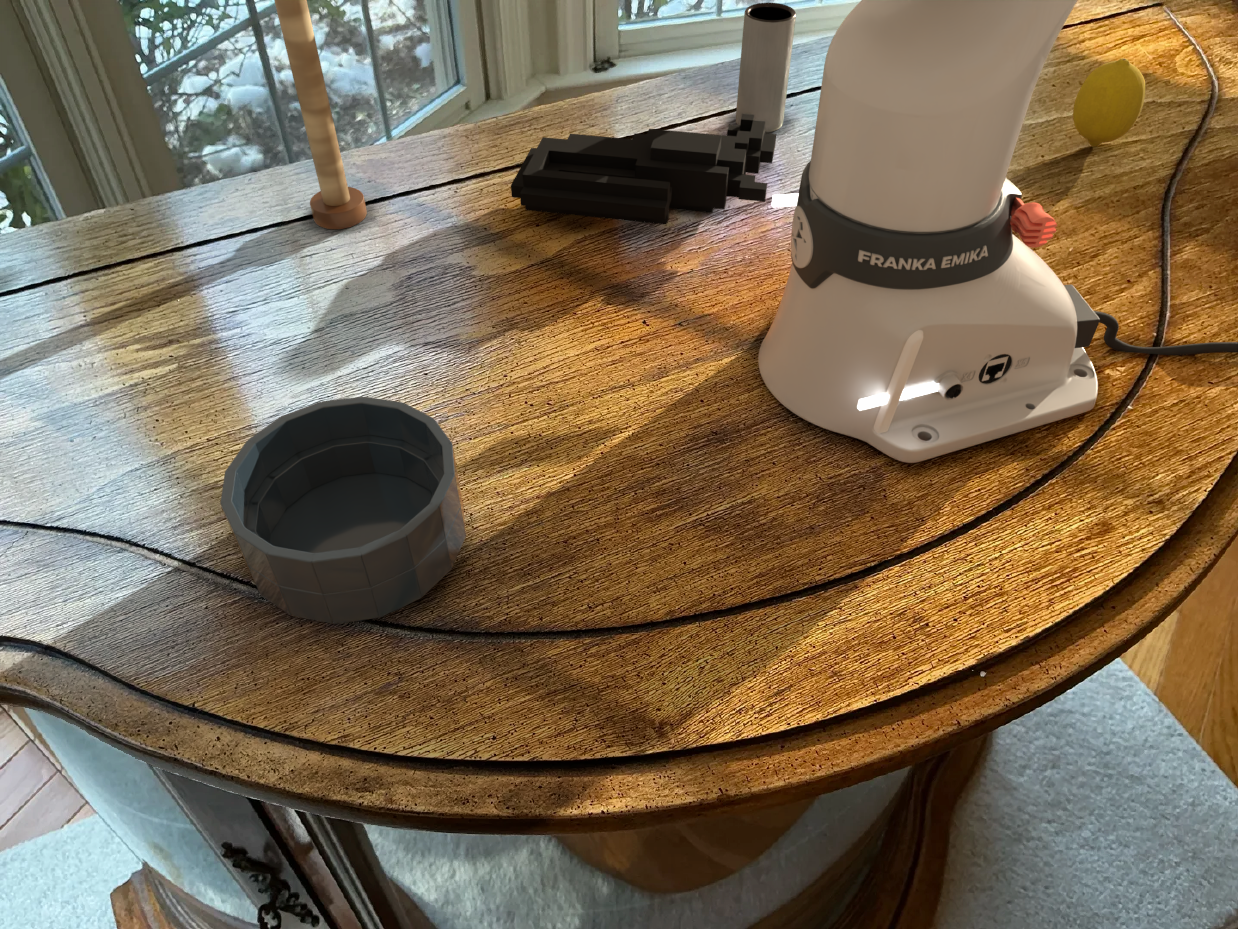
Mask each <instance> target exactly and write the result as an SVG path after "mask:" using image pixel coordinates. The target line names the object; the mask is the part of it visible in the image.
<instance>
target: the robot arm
mask: <svg viewBox="0 0 1238 929" xmlns="http://www.w3.org/2000/svg"><path fill="white" fill-rule="evenodd" d="M1078 1H1079V0H860V1H859V2H858V3H857V4H856V5H855V6H854V7H853V9H852V10H850V12H849V13H848V14H847V15H846V17H844V20H842V22H841V24H840V25H839V26H838V28H837V29H836V31H835V33H834V35H833V37H832V38H831V41H830V44H829V46H828V49H827V53H826V56H825V58H824V59H825V60H824V65H823V72H822V79H821V85H820V86H821V87H820V94H819V101H818V108H817V114H816V120H815V122H816V123H815V129H814V135H813V141H812V142H813V143H812V150H811V156H810V160H809V161H808V162H807V163H806V165H805V167H804V168H803V170H802V173H801V178H800V183H799V190H798V193H785V194H782V193H781V194H772V199H771V207H772V208H784V207H794V211H793V216H792V225H791V234H790V258H791V259H790V260H791V265H790V270H789V274H788V276H787V281H786V284H785V287H784V289H783V290H784V291H783V294H782V297H781V299H780V302H779V306H778V308H777V310H776V314H775V316H774V318H773V321H772V323H771V324H770V327H769V329H768V331H767V333H766V334H765V337H764V339H763V340H762V342H761V344H760V347H759V351H758V356H757V357H758V358H757V361H758V371H759V373H760V376H761V378H762V381H763V383H764V385H765V387H766V388H767V390H769V392H770V393H771V395H772V396H773V397H774V398H775V399H776V400H777V401H778V402H779V403H780V404H782V406H784V407H785V408H786V409H787V410H789V411H790V412H792V414H795V416H798V417H799V418H801V419H803V420H805V421H806V422H809V423H810V424H812V425H815V426H817V427H819V428H822V429H825V430H827V431H830V432H834V433H837V434H841V435H844V436H848V437H850V438H854V439H856V440H857V439H858V440H860V441H862V442H865V443H867V444H869V445H870V446H872V447H873V448H875V449H876V450H878V451H880V452H881V453H883V454H884V455H886V456H888V457H890V458H892V459H893V460H896V461H898V462H901V463H907V464H916V463H919V462H924V461H927V460H930V459H934V458H937V457H940V456H944V455H946V454H947V455H948V454H950V453H954V452H957V451H960V450H964V449H967V448H970V447H974V446H977V445H980V444H984V443H987V442H990V441H995V440H997V439H1001V438H1004V437H1007V436H1011V435H1014V434H1017V433H1021V432H1024V431H1027V430H1030V429H1034V428H1038V427H1041V426H1043V425H1044V426H1045V425H1047V424H1050V423H1054V422H1058V421H1061V420H1064V419H1067V418H1071V417H1075V416H1077V415H1080V414H1083V413H1084V414H1085V413H1086V412H1089V411H1092V410H1093V409H1094V407H1095V404H1096V402H1097V397H1098V394H1099V393H1098V392H1099V382H1098V381H1099V380H1098V375H1097V373H1096V370H1095V367H1094V364H1093V361H1092V360H1091V358H1090V357H1089V355H1088V352H1086V350H1085V348H1089V347H1090V345H1091V344H1092V341H1093V338H1094V336H1095V334H1096V331H1097V329H1098V327H1099V324H1102V325H1104V326H1105V327H1106V329H1105V331H1104V335H1103V341H1104V343H1105V345H1106V346H1107V347H1108V348H1110V349H1112V350H1114V351H1115V352H1119V353H1126V354H1128V353H1129V354H1133V353H1134V354H1149V355H1162V356H1182V357H1183V356H1192V355H1202V354H1203V355H1204V354H1219V353H1221V354H1222V353H1223V354H1224V353H1227V354H1228V353H1229V354H1230V353H1237V354H1238V341H1215V342H1201V343H1189V344H1181V345H1170V346H1169V345H1167V346H1153V347H1151V346H1138V345H1133V344H1129V343H1127V342H1124V341H1122V340H1120V339H1119V338H1118V337H1117V334H1118V332H1119V329H1120V325H1119V324H1120V323H1119V322H1118V320H1117V319H1116V318H1115V316H1113V315H1111V314H1110V313H1106V312H1103V311H1099V310H1093V308H1092V307H1091V306H1090V305H1089V303H1088V302H1087V301H1086V300H1085V299H1084V297H1083V296H1082V295H1081V294H1080V292H1079V291H1078V289H1077V288H1076V287H1075V286H1074V285H1073V284H1064V283H1063V282H1062V280H1061V279H1060V278H1059V276H1058V275H1057V274H1056V273H1055V272H1054V270H1053V269H1052V268H1051V267H1050V266H1049V265H1048V263H1047V262H1046V261H1045V260H1044V259H1042V258H1041V257H1040V256H1039V255H1038V254H1037V253H1036V252H1035V251H1034V250H1033V249H1034V248H1039V247H1042V246H1044V245H1046V244H1047V243H1048V240H1052V239H1053V238H1054V234H1055V233H1056V232H1057V227H1058V224H1057V222H1056V220H1055V219H1054V217H1052V216H1051V215H1050V214H1049V213H1047V212H1045V209H1044V207H1043V205H1042V204H1040V203H1039V202H1027V203H1024V201H1023V200H1022V197H1023V193H1022V192H1021V190H1020V189H1019V188H1018V187H1017V186H1016V185H1015V184H1014V183H1013V182H1012V181H1011V180H1010V179H1009V178H1007V175H1008V172H1009V169H1010V165H1011V162H1012V160H1013V156H1014V152H1015V149H1016V146H1017V143H1018V139H1019V137H1020V134H1021V131H1022V128H1023V125H1024V122H1025V119H1026V115H1027V112H1028V109H1029V107H1030V103H1031V100H1032V97H1033V94H1034V91H1035V89H1036V85H1037V84H1038V81H1039V78H1040V76H1041V73H1042V71H1043V68H1044V66H1045V64H1046V62H1047V59H1048V57H1049V55H1050V53H1051V51H1052V49H1053V47H1054V44H1055V42H1056V41H1057V38H1058V37H1059V35H1060V33H1061V31H1062V29H1063V28H1064V26H1065V24H1066V22H1067V20H1068V18H1069V16H1070V15H1071V13H1072V11H1073V9H1074V8H1075V6H1076V4H1077V3H1078ZM1013 232H1015V233H1017V234H1018V236H1019V238H1020V239H1019V238H1018V237H1017V236H1016V235H1014V234H1013ZM1031 248H1033V249H1031Z"/></svg>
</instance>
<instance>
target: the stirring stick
mask: <svg viewBox="0 0 1238 929" xmlns="http://www.w3.org/2000/svg"><path fill="white" fill-rule="evenodd" d="M273 1H274V6H275V10H276V13H277V17H278V21H279V26H280V30H281V34H282V38H283V42H284V46H285V50H286V54H287V58H288V63H289V66H290V70H291V75H292V80H293V84H294V87H295V91H296V95H297V100H298V104H299V107H300V111H301V116H302V120H303V123H304V128H305V132H306V137H307V141H308V144H309V148H310V153H311V157H312V160H313V165H314V169H315V173H316V177H317V178H316V179H317V181H318V186H319V191H318V192H316V193H314V195H312V196H311V198H310V200H309V206H310V210H311V211H310V212H311V214H312V218H313V222H314V223H315V224H316V225H317V226H319V227H320V228H323V229H326V230H343V229H348V228H352V227H354V226H357V225H359V224H360V223H361V222H363V221H364V220H365V219H366V217H367V214H368V210H367V205H366V201H365V196H364V194H363V192H362V191H361V190H359V189H357V188H356V187H353V186H352V187H351V186H348V181H347V177H346V173H345V168H344V162H343V159H342V154H341V150H340V149H341V148H340V146H339V140H338V135H337V132H336V127H335V123H334V119H333V114H332V109H331V108H332V107H331V105H330V100H329V96H328V91H327V86H326V82H325V77H324V72H323V68H322V64H321V60H320V55H319V49H318V46H317V41H316V37H315V32H314V28H313V23H312V19H311V13H310V8H309V5H308V1H307V0H273Z"/></svg>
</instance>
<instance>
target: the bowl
mask: <svg viewBox="0 0 1238 929" xmlns="http://www.w3.org/2000/svg"><path fill="white" fill-rule="evenodd" d="M220 507H221V509H222V512H223V514H224V516H225V519H226V521H227V524H228V525H229V528H230V530H231V533H232V534H233V537H234V539H235V542H236V544H237V546H238V549H239V551H240V553H241V555H242V558H243V561H244V563H245V566H246V567H247V569H248V571H249V573H250V576H251V578H252V579H253V583H254V584H255V587H256V589H257V590H258V594H259V595H261V597H263V598H265V599H266V600H267V601H268V602H270V603H271V604H273V605H274V606H276V607H277V608H279V609H280V610H282V611H283V612H285V613H286V614H287V615H289V616H292V617H295V618H300V619H306V620H310V621H311V620H312V621H315V622H321V623H322V622H323V623H327V624H334V625H338V624H344V623H355V622H363V621H368V620H372V619H373V620H374V619H379V618H382V617H384V616H386V615H389V614H391V613H394V612H396V611H399V610H401V609H403V608H404V607H406V606H408V605H410V604H412V603H414V602H416V601H418V600H420V599H422V598H423V597H424V596H426V594H427V593H428V592H429V591H430V590H432V589H433V588H434V586H436V585H437V584H438V583H439V582H440V581H441V580H442V579H443V578H445V576H446V575H448V573H449V572H451V570H452V569H453V567H454V565H455V562H456V560H457V558H458V556H459V553H460V551H461V548H462V546H463V544H464V542H465V540H466V538H467V537H466V536H467V533H466V522H465V521H466V520H465V509H464V502H463V496H462V490H461V485H460V479H459V473H458V467H457V461H456V456H455V450H454V444H453V442H452V441H451V439H450V438H449V437H448V435H447V434H446V432H445V431H444V430H443V429H442V427H441V426H440V424H439V423H438V422H437V421H436V419H435V418H434V417H433V416H430V415H428V414H426V413H424V412H423V411H421V410H419V409H416V408H414V407H413V406H411V405H409V404H407V403H405V402H401V401H396V400H389V399H383V398H377V397H370V396H357V397H348V398H347V397H346V398H339V399H329V400H322V401H319V402H316V403H313V404H310V405H308V406H305V407H302V408H300V409H297V410H293V411H292V412H288V413H286V414H284V415H283V414H282V415H281V416H279V417H277V418H276V419H275V420H274V421H272V422H271V423H270V424H268V425H267V426H265V427H264V428H262V429H261V430H260V431H258V432H256V433H255V434H253V435H252V436H251V437H250V438H248V439H247V440H246V441H245V443H244V444H243V445H242V447H241V448H240V450H239V451H238V453H237V454H236V455H235V457H234V458H233V459H232V461H231V462H230V464H229V465H228V467H227V468H226V469H225V470H224V476H223V483H222V490H221V496H220Z"/></svg>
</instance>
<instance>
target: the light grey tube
mask: <svg viewBox="0 0 1238 929" xmlns="http://www.w3.org/2000/svg"><path fill="white" fill-rule="evenodd" d="M796 16H797V13H796V10H795V9H794V8H793V7H791V6H789V5H787V4H783V3H780V2H767V1H766V2H758V3H754V4H751V5H749V6H748V7H746V8H745V10H744V15H743V25H742V37H741V38H742V39H741V49H740V50H741V52H740V61H739V64H740V65H739V73H738V74H739V76H738V85H737V86H738V87H737V98H736V109H735V110H736V111H735V123H736V125H740V122H741V116H742V114H752V115H754V120H755V121H765V133H772V132H775V131H777V130H779V129H780V128H781V127H783V125H784V119H785V112H786V103H787V94H788V86H789V79H790V78H789V77H790V70H791V62H792V53H793V45H794V35H795V27H796V18H797V17H796Z"/></svg>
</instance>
